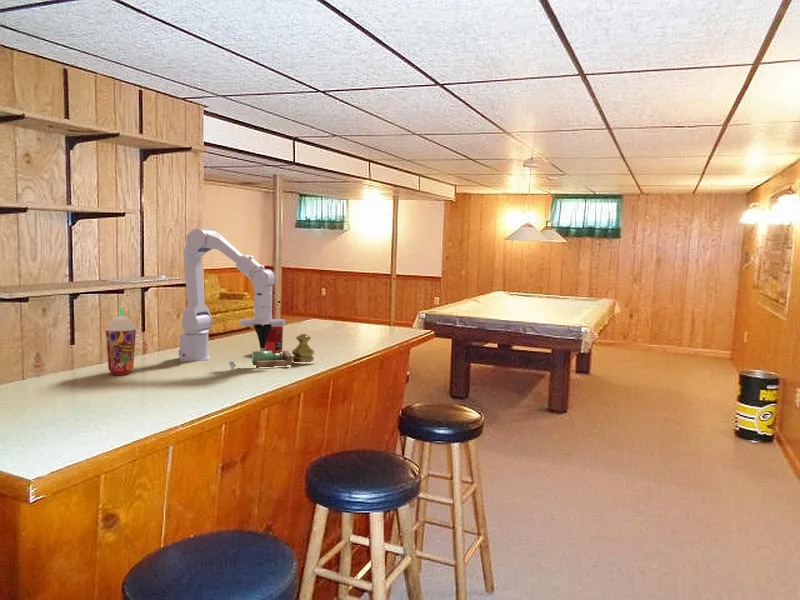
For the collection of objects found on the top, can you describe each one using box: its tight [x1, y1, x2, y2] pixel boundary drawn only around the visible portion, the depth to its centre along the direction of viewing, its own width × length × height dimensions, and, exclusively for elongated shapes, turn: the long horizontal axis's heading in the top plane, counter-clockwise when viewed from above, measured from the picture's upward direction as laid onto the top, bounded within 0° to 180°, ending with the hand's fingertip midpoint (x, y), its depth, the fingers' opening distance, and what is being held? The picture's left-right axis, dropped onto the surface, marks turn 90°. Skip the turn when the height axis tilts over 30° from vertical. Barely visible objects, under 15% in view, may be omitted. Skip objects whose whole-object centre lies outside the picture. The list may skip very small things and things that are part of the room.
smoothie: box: [104, 306, 137, 376], centre depth 179 cm, size 8×8×20 cm
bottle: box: [251, 350, 283, 365], centre depth 200 cm, size 4×4×10 cm
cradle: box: [228, 350, 293, 370], centre depth 199 cm, size 19×12×4 cm, turn 110°
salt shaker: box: [291, 333, 315, 362], centre depth 205 cm, size 7×7×10 cm
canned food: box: [259, 323, 284, 354], centre depth 220 cm, size 8×8×11 cm
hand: (262, 347), depth 199 cm, fingers closed
